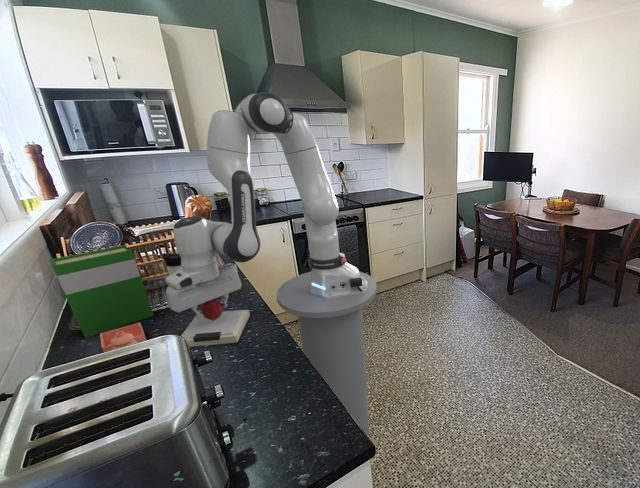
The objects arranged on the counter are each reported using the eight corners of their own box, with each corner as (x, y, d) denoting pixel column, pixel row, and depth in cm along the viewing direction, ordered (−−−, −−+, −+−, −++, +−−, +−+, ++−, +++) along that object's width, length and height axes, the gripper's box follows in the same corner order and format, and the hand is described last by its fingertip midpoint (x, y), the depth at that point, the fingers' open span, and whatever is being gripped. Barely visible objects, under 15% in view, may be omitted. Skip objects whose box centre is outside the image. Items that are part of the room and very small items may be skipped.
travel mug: (173, 308, 123) (157, 256, 115) (190, 300, 129) (176, 250, 121) (187, 311, 122) (171, 259, 113) (203, 303, 127) (189, 252, 119)
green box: (147, 308, 123) (125, 244, 113) (154, 315, 119) (131, 250, 109) (80, 329, 110) (49, 259, 101) (85, 338, 106) (53, 266, 96)
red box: (104, 345, 103) (92, 317, 99) (144, 333, 109) (134, 306, 105) (109, 376, 91) (96, 345, 87) (153, 361, 97) (142, 331, 93)
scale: (250, 315, 120) (248, 307, 119) (237, 342, 106) (235, 334, 105) (199, 319, 117) (196, 312, 116) (178, 348, 103) (175, 339, 101)
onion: (225, 314, 113) (220, 292, 110) (223, 323, 109) (218, 300, 105) (205, 317, 111) (199, 295, 108) (202, 326, 107) (196, 303, 103)
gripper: (229, 258, 113) (238, 296, 118) (158, 280, 97) (171, 322, 102) (240, 263, 110) (249, 301, 115) (168, 286, 94) (182, 329, 99)
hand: (212, 311), depth 109 cm, fingers closed on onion, 6 cm apart
